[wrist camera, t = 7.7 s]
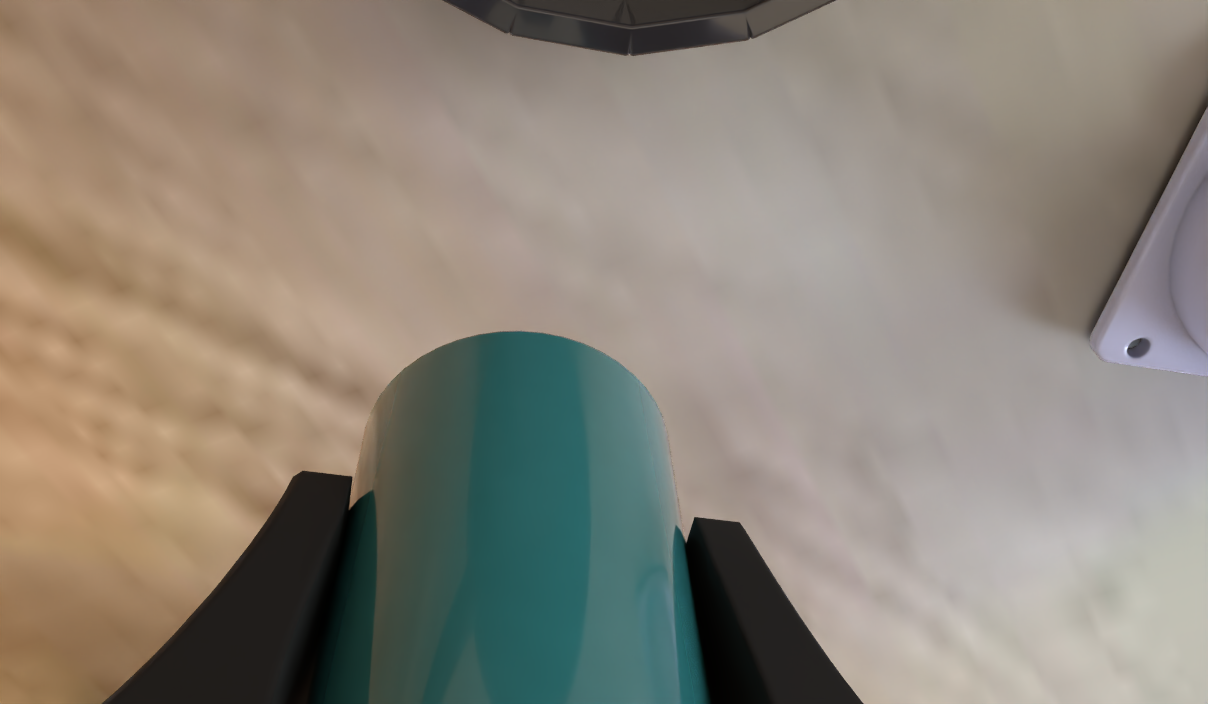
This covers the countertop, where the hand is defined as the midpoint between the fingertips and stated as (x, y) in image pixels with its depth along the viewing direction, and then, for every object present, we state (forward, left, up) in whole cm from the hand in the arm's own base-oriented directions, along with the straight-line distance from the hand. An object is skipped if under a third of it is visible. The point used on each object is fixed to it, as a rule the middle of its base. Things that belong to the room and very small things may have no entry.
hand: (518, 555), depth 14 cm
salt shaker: (0, 0, -2) cm, 2 cm away
